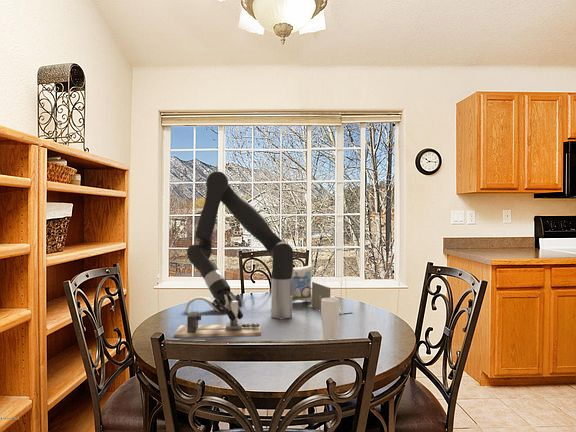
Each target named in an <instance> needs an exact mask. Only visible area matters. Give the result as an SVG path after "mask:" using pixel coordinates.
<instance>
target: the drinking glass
mask: <svg viewBox="0 0 576 432" xmlns="http://www.w3.org/2000/svg"><path fill="white" fill-rule="evenodd" d="M340 302H341V301H340V299H339V298H337V297H330V298H322V299H321V311H320V315H321V330H322V340H323V341H324V340H329V339H337V340H338V332H339V322H340V321H339V320H340V315H339V312H340V307H341V303H340Z"/></svg>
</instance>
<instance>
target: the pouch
mask: <svg viewBox="0 0 576 432" xmlns="http://www.w3.org/2000/svg"><path fill="white" fill-rule="evenodd" d="M313 267H314V263H311V264H309V265H306V266H300V267H293V273H292V302H295V301H309V302H312V278H313V277H312V276H313V275H312V274H313V273H312V272H313V269H314V268H313Z"/></svg>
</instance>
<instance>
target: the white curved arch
mask: <svg viewBox="0 0 576 432" xmlns="http://www.w3.org/2000/svg"><path fill="white" fill-rule="evenodd" d="M199 300H200V301H203V302H205V303H206V304H208V305H209V306H210V307H211V308H212V309H213V310H214V311H215V312H217V313H221V312H220V311H219V310H218V309H216V308H215V307H214V306H213V305H212V302H213V301H214V300H215V298H212V297H208V296H200V295H199V296H194V297H192V298H190V299H189V300H188V301H187V303H186V305H185V310H184V313H185V314H188V312H189V307H190V305H191V304H192V303H194V302H195V301H199ZM220 308H221V307H220ZM221 309H222V308H221Z"/></svg>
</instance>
